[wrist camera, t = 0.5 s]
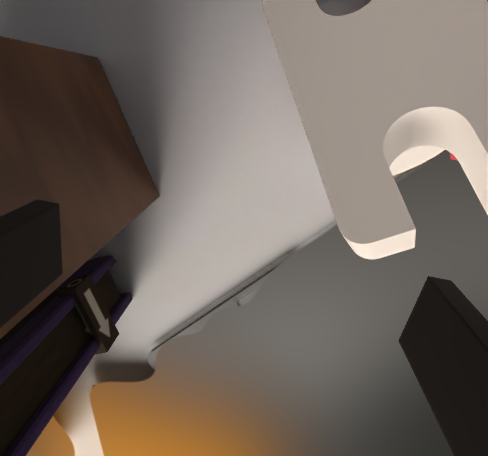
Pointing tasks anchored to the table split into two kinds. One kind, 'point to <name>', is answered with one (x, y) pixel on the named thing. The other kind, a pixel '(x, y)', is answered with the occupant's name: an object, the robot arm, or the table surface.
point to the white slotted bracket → (386, 102)
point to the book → (55, 351)
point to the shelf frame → (67, 151)
